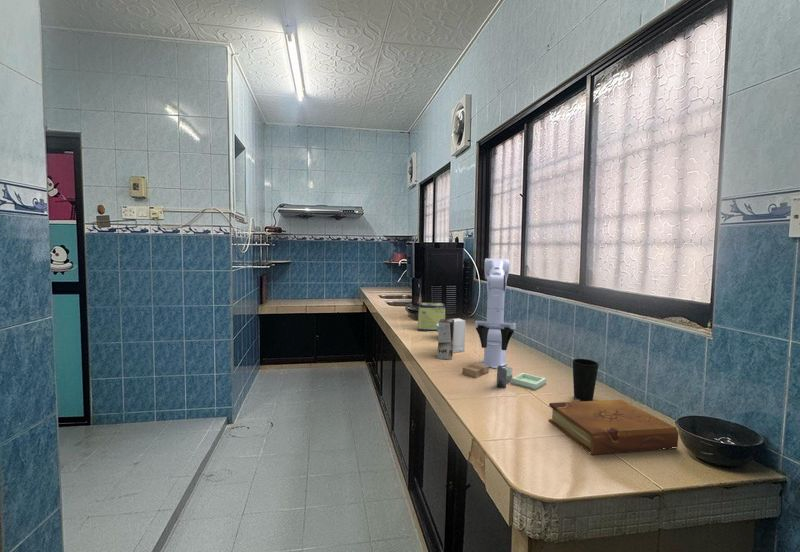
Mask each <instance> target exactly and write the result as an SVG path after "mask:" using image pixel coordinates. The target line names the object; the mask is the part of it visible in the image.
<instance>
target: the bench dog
mask: <svg viewBox="0 0 800 552" xmlns="http://www.w3.org/2000/svg"><path fill="white" fill-rule="evenodd" d="M505 366H506V365H505ZM506 367H507V376H506V385H508V384H509V383H511V378H513V367H512V366H506Z"/></svg>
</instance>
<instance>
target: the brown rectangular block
mask: <svg viewBox="0 0 800 552" xmlns="http://www.w3.org/2000/svg"><path fill="white" fill-rule="evenodd" d="M489 368H490V367H489V366H486V365H482V364H480V363H478V362H473V363H472V364H468V365H467V366H463V367H462V373H461V374H462V375H464V376H467V377H470V378H474V379H477V378H480V377H482V376H484V375H487V374H489V371H490V369H489Z"/></svg>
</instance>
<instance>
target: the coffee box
mask: <svg viewBox="0 0 800 552" xmlns="http://www.w3.org/2000/svg"><path fill="white" fill-rule="evenodd" d="M452 319H453V318H445V319H440V321H439V333H437V336H438V337H437V338H438V339H437V359H440V360H449V361H450V360H452V359H453V356H454V353H453V341H454V320H452Z"/></svg>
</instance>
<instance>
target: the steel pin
mask: <svg viewBox="0 0 800 552" xmlns="http://www.w3.org/2000/svg"><path fill="white" fill-rule="evenodd" d="M507 367H508V366H507ZM507 367H506V365H504V366H497V369H496V387H497V388H498V389H506V388H507V384H506V376H507Z"/></svg>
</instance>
